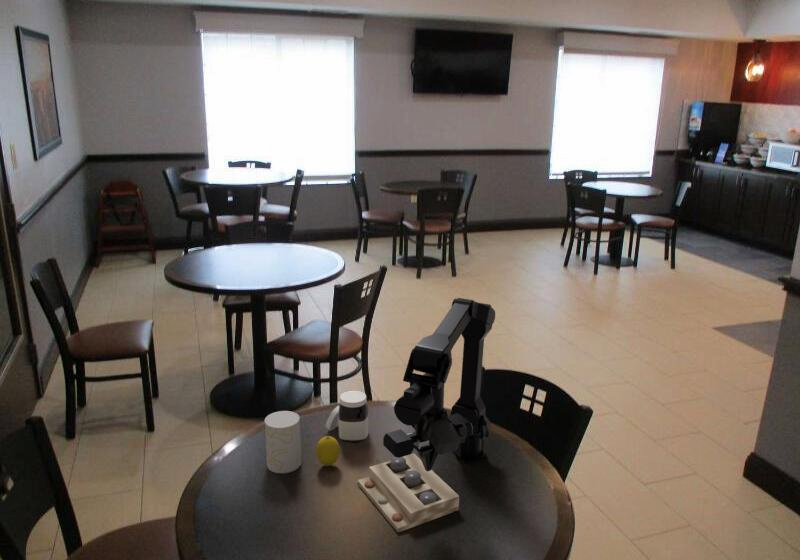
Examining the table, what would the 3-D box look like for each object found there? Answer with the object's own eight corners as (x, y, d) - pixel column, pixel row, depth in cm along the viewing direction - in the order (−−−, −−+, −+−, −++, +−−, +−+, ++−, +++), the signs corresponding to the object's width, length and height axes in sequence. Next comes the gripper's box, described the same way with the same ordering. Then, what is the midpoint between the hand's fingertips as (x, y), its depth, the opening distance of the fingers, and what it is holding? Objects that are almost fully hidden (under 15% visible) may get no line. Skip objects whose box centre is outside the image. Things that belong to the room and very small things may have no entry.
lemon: (336, 473, 145) (335, 443, 143) (313, 470, 146) (312, 440, 144) (342, 460, 150) (342, 431, 148) (321, 458, 151) (320, 429, 149)
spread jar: (367, 447, 156) (366, 406, 153) (322, 446, 157) (321, 405, 153) (369, 423, 168) (369, 384, 165) (328, 423, 168) (327, 384, 165)
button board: (413, 466, 148) (414, 453, 148) (458, 510, 133) (459, 496, 132) (357, 483, 141) (357, 470, 140) (397, 532, 125) (398, 518, 125)
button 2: (430, 498, 134) (430, 489, 134) (439, 507, 131) (439, 498, 131) (416, 503, 133) (416, 494, 132) (425, 513, 130) (425, 504, 129)
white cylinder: (260, 468, 147) (257, 423, 144) (279, 451, 154) (276, 408, 151) (289, 476, 144) (287, 430, 141) (307, 458, 151) (305, 414, 148)
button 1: (401, 463, 145) (401, 454, 144) (408, 470, 142) (409, 462, 141) (387, 467, 143) (387, 458, 142) (395, 475, 140) (395, 466, 139)
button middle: (415, 477, 139) (415, 468, 139) (423, 485, 136) (423, 476, 136) (401, 481, 138) (401, 473, 137) (409, 490, 135) (409, 481, 134)
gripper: (410, 432, 114) (408, 504, 119) (490, 409, 123) (486, 477, 127) (382, 407, 124) (381, 475, 128) (458, 387, 132) (456, 451, 137)
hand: (427, 470), depth 130 cm, fingers closed
